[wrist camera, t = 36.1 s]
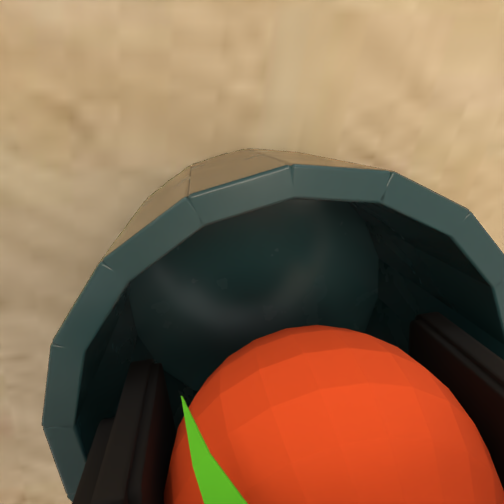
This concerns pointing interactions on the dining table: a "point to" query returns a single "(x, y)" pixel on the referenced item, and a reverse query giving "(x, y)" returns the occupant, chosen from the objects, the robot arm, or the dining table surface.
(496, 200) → the dining table surface
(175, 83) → the dining table surface
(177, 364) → the pot
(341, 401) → the clementine
